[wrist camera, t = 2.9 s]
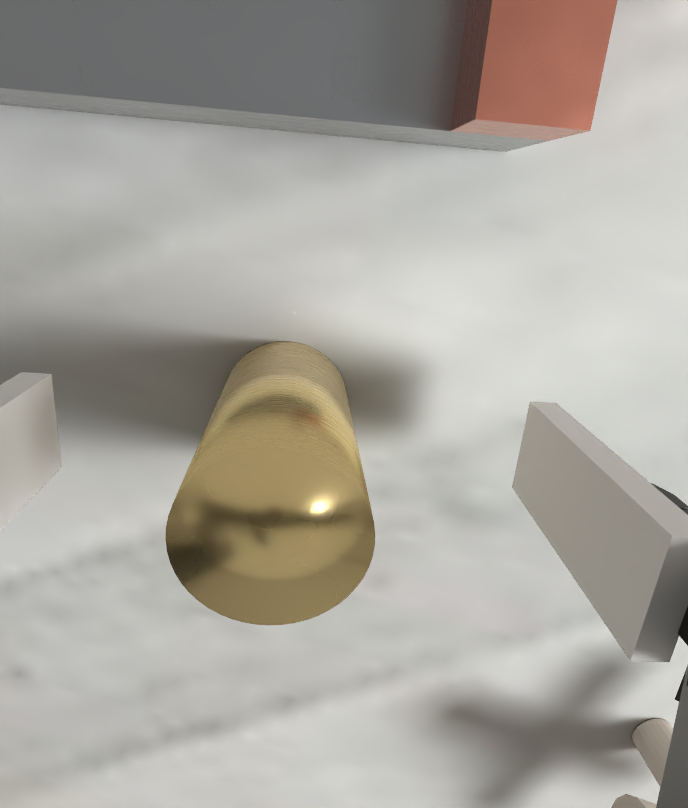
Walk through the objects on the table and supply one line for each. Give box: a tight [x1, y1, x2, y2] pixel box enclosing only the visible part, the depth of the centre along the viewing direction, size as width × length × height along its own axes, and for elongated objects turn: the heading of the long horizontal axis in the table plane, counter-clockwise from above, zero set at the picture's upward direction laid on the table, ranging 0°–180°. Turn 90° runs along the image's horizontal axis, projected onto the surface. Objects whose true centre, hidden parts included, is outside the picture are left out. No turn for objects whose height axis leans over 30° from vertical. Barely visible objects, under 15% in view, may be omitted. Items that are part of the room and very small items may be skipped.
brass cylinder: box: [166, 342, 375, 625], centre depth 14 cm, size 4×4×8 cm
